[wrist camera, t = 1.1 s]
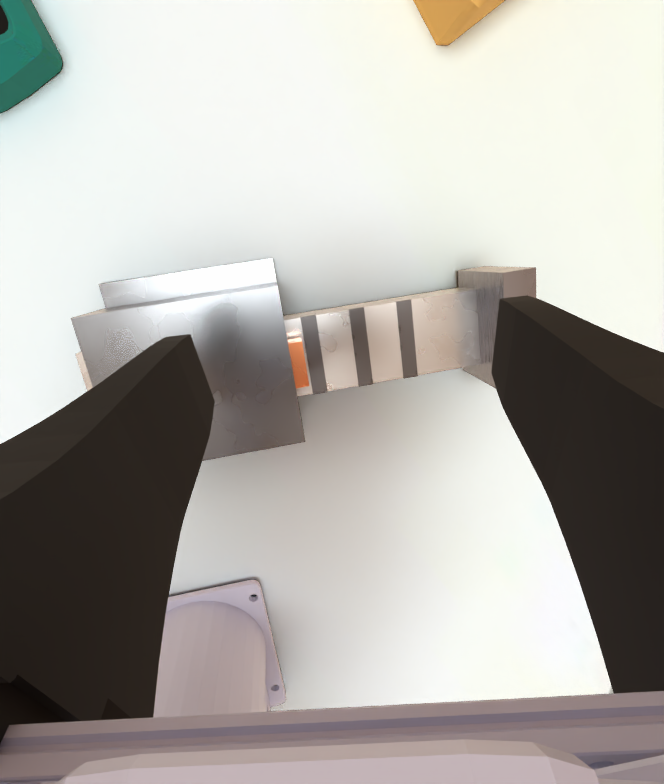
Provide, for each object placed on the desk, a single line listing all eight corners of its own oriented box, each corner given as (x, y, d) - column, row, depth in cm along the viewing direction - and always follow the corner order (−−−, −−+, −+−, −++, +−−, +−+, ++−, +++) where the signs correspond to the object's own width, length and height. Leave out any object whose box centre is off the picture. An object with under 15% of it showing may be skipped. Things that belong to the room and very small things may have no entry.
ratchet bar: (488, 365, 24) (536, 389, 20) (120, 430, 22) (83, 472, 18) (484, 266, 22) (535, 267, 18) (88, 328, 21) (40, 346, 16)
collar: (313, 428, 24) (322, 461, 20) (152, 457, 23) (128, 498, 19) (284, 256, 21) (288, 255, 17) (101, 283, 21) (61, 289, 17)
